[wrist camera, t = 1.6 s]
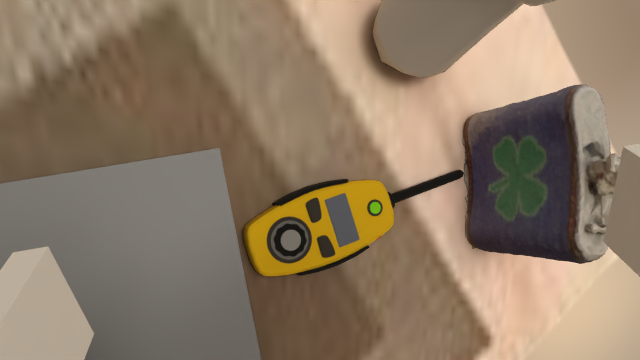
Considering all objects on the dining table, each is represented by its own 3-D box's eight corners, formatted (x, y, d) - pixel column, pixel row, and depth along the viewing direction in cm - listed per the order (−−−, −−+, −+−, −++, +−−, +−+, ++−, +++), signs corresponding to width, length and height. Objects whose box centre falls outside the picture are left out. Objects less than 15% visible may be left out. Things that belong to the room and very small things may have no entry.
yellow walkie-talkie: (238, 211, 25) (463, 135, 30) (232, 211, 27) (445, 139, 32) (266, 297, 25) (484, 207, 30) (258, 291, 27) (465, 207, 32)
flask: (460, 113, 32) (604, 70, 22) (496, 115, 33) (649, 76, 23) (463, 251, 32) (610, 272, 22) (498, 249, 33) (656, 269, 23)
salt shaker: (425, 100, 31) (603, 32, 19) (349, 63, 29) (490, -39, 17) (449, 22, 32) (633, -91, 20) (377, -19, 30) (529, -170, 18)
